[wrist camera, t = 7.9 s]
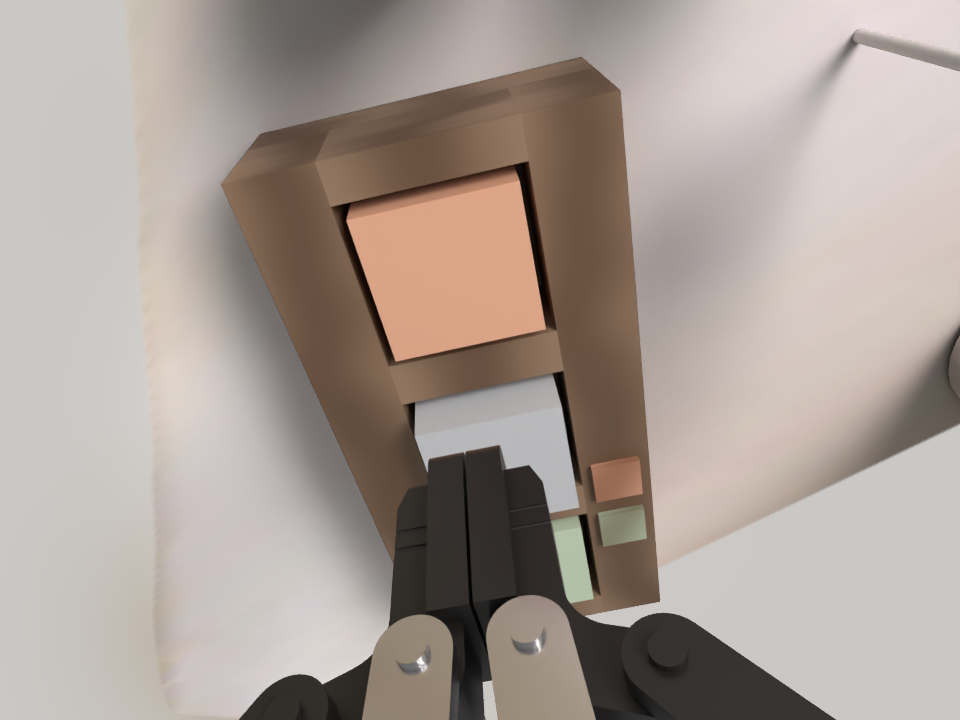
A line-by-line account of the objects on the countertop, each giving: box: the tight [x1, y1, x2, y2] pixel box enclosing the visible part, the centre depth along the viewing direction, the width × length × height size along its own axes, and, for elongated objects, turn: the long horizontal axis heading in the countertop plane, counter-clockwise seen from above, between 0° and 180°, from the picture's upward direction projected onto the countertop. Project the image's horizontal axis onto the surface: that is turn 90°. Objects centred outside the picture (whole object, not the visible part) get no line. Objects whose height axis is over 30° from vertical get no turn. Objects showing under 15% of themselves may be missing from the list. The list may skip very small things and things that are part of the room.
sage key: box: [551, 515, 594, 603], centre depth 31 cm, size 5×5×3 cm
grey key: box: [415, 373, 579, 513], centre depth 26 cm, size 5×5×3 cm
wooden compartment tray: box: [221, 57, 660, 616], centre depth 28 cm, size 12×25×6 cm, turn 12°
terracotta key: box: [346, 165, 546, 361], centre depth 22 cm, size 5×5×3 cm
